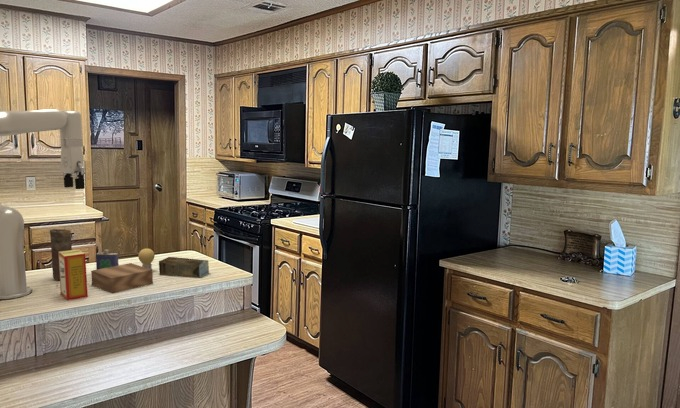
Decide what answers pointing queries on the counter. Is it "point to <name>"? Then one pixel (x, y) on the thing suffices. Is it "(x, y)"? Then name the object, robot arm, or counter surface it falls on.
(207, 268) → the grey rectangular block
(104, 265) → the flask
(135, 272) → the walnut riser block
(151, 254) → the light bulb
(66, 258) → the baking soda box
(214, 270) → the counter surface
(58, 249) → the candle
